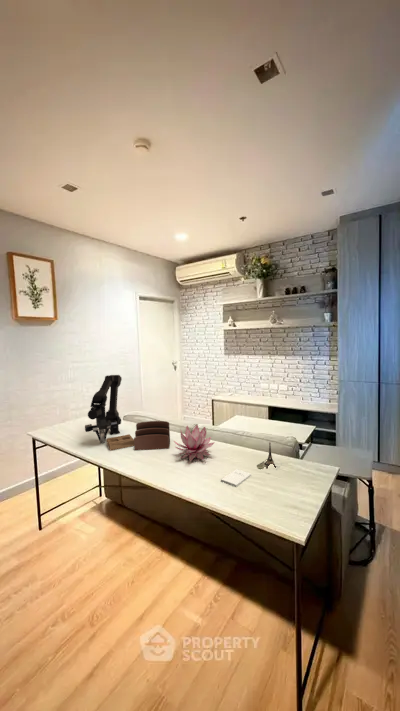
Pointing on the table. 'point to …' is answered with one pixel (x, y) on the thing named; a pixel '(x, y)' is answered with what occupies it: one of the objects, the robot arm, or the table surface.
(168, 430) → the letter holder
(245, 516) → the table surface
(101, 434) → the pin
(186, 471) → the table surface
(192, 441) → the decorative flower
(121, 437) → the block
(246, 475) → the external hard drive
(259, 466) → the eiffel tower figurine
